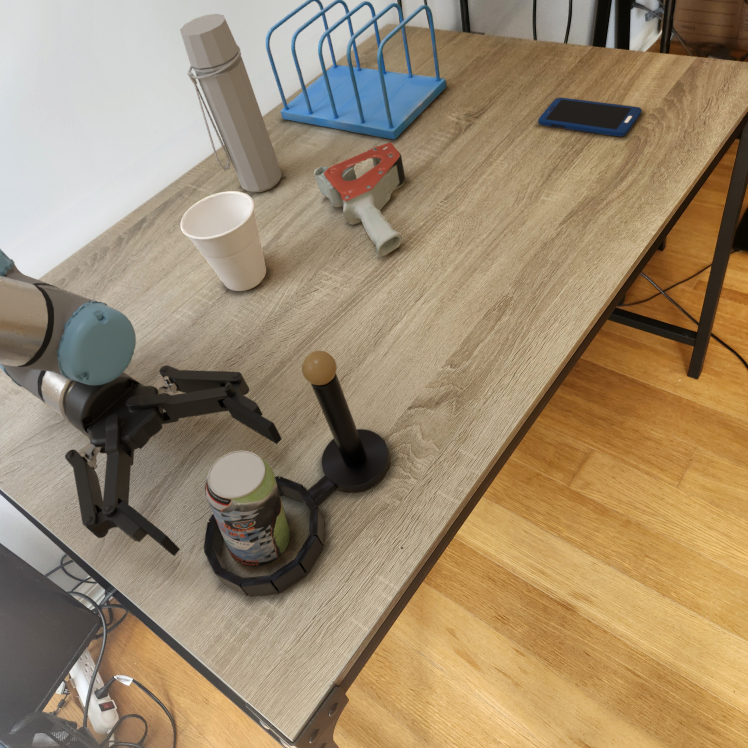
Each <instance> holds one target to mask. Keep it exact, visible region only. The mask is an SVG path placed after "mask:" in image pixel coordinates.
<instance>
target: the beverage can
mask: <svg viewBox="0 0 748 748" xmlns="http://www.w3.org/2000/svg"><path fill="white" fill-rule="evenodd" d="M275 477H276V476H275V473H274V470H273V469H272V466H271V465H270V464H269V463H268V462H267V461H266V459H263V458H262V457H260V456H259V455H258V454H256V453H254V452H252V451H249V450H234V451H230V452H227V453H225V454H224V455H221V456H220V457H218V458H217V459H216V460H215V461H214V462H213V463H212V465H211V466H210V468H209V469H208V472H207V477H206V480H205V483H204V493H205V498H206V500H207V503H208V506H209V507H210V509H211V512H212V514H214V517H215V519H216V522H217V524H218V526H219V529H220V531H221V533H222V536H223V542H224V543H225V545H226V548H227V550H228V553H229V555H230V556H231V557H232V559H233V560H234V561H235V562H236V563H238V564H239V565H242V566H244V567H249V568H259V567H264V566H268V565H270V564H272V563H274V562H275V561H277V560H278V559H279V558H280V557H282V555H283V554H284V553H285V551H286V550H287V548H288V546H289V544H290V539H291V533H290V532H291V531H290V527H289V524H288V520H287V516H286V513H285V512H286V511H285V509H284V505H283V502H282V498H281V495H280V494H279V491H278V487H277V483H276V480H275Z"/></svg>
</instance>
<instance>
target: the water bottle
mask: <svg viewBox="0 0 748 748" xmlns="http://www.w3.org/2000/svg"><path fill="white" fill-rule="evenodd" d="M225 17H226V16H225V15H224V14H221V13H211V14H205V15H202V16H198V17H195V18H193V19H191V20H190V21H188V22H186V23H184V24H183V26H182V27H181V28H180V29H179V31H180V35H181V38H182V41H183V45H184V48H185V51H186V55H187V57H188V61H189V64H190V67H189V69H188V70H187V73H186V74H187V76H188V78H189V79H190V81H191V83H192V84H193V86H194V89H195V92H196V96H197V100H198V103H199V106H200V110H201V114H202V117H203V120H204V123H205V127H206V130H207V133H208V137H209V140H210V141H209V142H210V144H211V148H212V151H213V154H214V156H215V159H216V161H217V163H218V165H219V166H220V167H221V169H222V170H223V171H227V170H230V169H231V164H232V167H233V169H234V171H235V174H236V176H237V179H238V181H239V184H240V187H241V189H242V190H244V191H247V192H249V193H252V194H253V193H262V192H265V191H268V190H271V189H272V188H274V187H275V186H276V185H278V184H279V183H280V181H281V178H282V176H283V172H282V170H281V167H280V164H279V161H278V158H277V156H276V152H275V150H274V147H273V143H272V141H271V137H270V136H269V132H268V129H267V127H266V124H265V120H264V118H263V114H262V112H261V109H260V106H259V103H258V101H257V96H256V95H255V92H254V88H253V86H252V83H251V80H250V77H249V74H248V71H247V69H246V66H245V62H244V60H243V56H242V53H241V48H240V46H239V45H238V44H237V42H236V40H235V38H234V35H233V33H232V31H231V29H230V26H229V24H228V22H227V20H226V18H225ZM192 70H193V71H194V72H195V75H194V73H193V72H192ZM198 83H199V86H200V89H201V90H202V92H203V95H204V97H203V96H202V94H201V91H200V89H199V86H198V85H197V84H198ZM204 98H205V100H204ZM205 101H206V102H205ZM206 103H207V105H208V107H209V109H208V107H207V105H206ZM204 108H205V111H206V113H207V115H208V118H209V120H210V122H211V125H212V128H213V129H214V132H215V133H216V136H217V138H218V141H219V143H220V145H221V147H222V150H223V152H224V154H225V156H226V159H227V162H226V166H223V165H222V163H221V160H220V159H219V157H218V154H217V150H216V147H215V143H214V140H213V137H212V134H211V131H210V128H209V127H210V126H209V124H208V121H207V118H206V114H205V111H204ZM209 110H210V111H209ZM210 112H211V114H210ZM211 115H212V116H211ZM214 121H215V123H214Z"/></svg>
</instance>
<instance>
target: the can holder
mask: <svg viewBox="0 0 748 748" xmlns="http://www.w3.org/2000/svg"><path fill="white" fill-rule="evenodd" d="M337 368H338V367H337V363H336V360H335V358H334V356H333V355H331V354H330V353H329V352H327V351H324V350H314V351H311V352H310V353H308V354H307V355H306V356H305V358H304V359H303V361H302V364H301V372H302V376H303V377H304V379H305V380H306V381H307V382H308V383H310V386H311V387H312V390H313V392H314V395H315V398H316V400H317V402H318V404H319V406H320V409H321V412H322V413H323V417H324V418H325V421H326V423H327V426H328V427H329V430H330V433H331V435H332V437H333V439H331V440H330V441H329V442H328V444H327V445H326V446H325V448H324V450H323V453H322V456H321V469H322V471H323V473H324V476H322V477H321V478H320V479H319V480H318V481H317V482H315V484H313V485H312V486H311V487H310V488H309V489H307V487H306V486H304V485H303V484H301V483H298V482H296V481H294V480H291V479H289V478H286V477H283V476H279V475H277V476H275V480H276V483H277V487H278V491H279V494H280V496H286V497H288V498H291V499H294V500H296V501H298V502H301V503H303V504H304V505H305V506H306V508H307V509H308V511H309V531H308V536H307V538H306V540H305V541H304V543H303V544H302V546H301V548H300V549H299V551H298V552H297V554H296V556H295V558H294V559H292V560H291V561H289V562H288V563H286V564H285V565H283V566H282V567H280V568H278V569H276V571H274V572H272V573H271V574H267V575H258V576H251V577H249V576H248V577H242V576H240V575H238V574H236V573H234V572H232V571H230V570H228V569H227V567H226V565H225V563H224V561H223V559H222V552H223V543H224V538H223V536H222V533H221V531H220V529H219V526H218V524H217V522H216V519H215V517H214V514H213V513H212V514H211V516H210V517H209V518H208V521H207V523H206V529H205V536H204V542H203V553H204V554H205V556H206V559H207V561H208V563H209V565H210V567H211V570H212V572H213V573H214V574H215V575H216V577H217V578H218V579H219V580H220V581H221V582H222V583H223V584H224V585H225V586H227V587H228V588H230V589H232V590H234V591H236V592H238V593H240V594H242V595H244V596H246V597H251V598H252V597H259V596H262V597H263V596H269V595H279V593H281V594H282V593H283V592H285V591H286V590H288V589H289V588H290V587H293V586H294V585H295V584H297V583H298V582H300V581H301V580H303V579H304V578H305V577H307V574H308V575H309V574H310V572H311V570H312V568H313V567H314V565H315V563H316V562H317V560H318V558H319V556H320V555H321V553H322V551H323V550H324V546H325V519H324V515H323V513H322V512H321V510H320V508H319V505H320V504H322V503H323V502H324V501H325V500H326V499H327V498H329V497H330V496H331V495H332V494H333V493H335V492H336V491H337V490H339V491H341V492H345V493H360V492H364V491H367V490H370V489H372V488H374V487H375V486H376V485H378V484H379V483H380V482H381V481H382V480H383V479H384V477H385V476H386V474H387V473H388V471H389V468H390V464H391V456H390V452H389V449H388V446H387V443H386V442H385V440H384V439H383V437H381V435H379V433H376V432H374V431H372V430H370V429H364V428H357V426H356V424H355V420H354V418H353V416H352V413H351V410H350V407H349V404H348V402H347V399H346V396H345V393H344V391H343V388H342V386H341V383H340V380H339V378H338V375H337Z"/></svg>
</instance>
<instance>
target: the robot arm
mask: <svg viewBox="0 0 748 748" xmlns="http://www.w3.org/2000/svg"><path fill="white" fill-rule="evenodd" d="M136 345H137V337H136V331H135V327H134V326H133V323H132V322H131V320H130V319H129V318H128V317H127V315H125V314H124V313H123V312H121V311H120V310H118V309H115V308H113V307H111V306H109V305H108V304H107V303H105V302H103V301H97V300H93V299H91V298H88V297H84V296H83V295H79V294H76V293H74V292H71V291H67V290H66V289H62V288H60V287H57V286H55V285H53V284H51V283H47V282H45V281H43V280H40V279H37V278H34V277H31V276H28V275H26V274H24V273H22V271H20V269H18V267H17V265H16V264H15V261H14V260H13V259H11V258H10V257H9V256H8V255H7V254H6V253H5V251H3V250H2V249H1V248H0V369H1V370H2V371H3V372H4V374H5V375H6V376H7V377H8V378H10V379H11V381H12V382H13V383H14V384H16V385H17V386H19V387H21V388H23V389H25V390H26V391H28V392H29V394H31V395H32V396H34V397H36V399H38V400H40V402H43V404H45V405H46V406H47V407H48V408H50V409H52V410H53V412H55V413H57V414H58V415H59V416H60V417H62V418H63V419H64V420H65V421H67V422H68V423H69V424H71V425H72V426H73V427H74V428H75V429H77V430H78V431H79V432H81V433H82V434H83V435H84V436H86V437H87V438H88V439H89V443H88V444H87V445H85V446H84V447H83V448H82V449H80V450H79V451H77V450H76V449H70V450H68V451H67V452H66V453H65V454H64V458H65V460H66V461H67V463H69V465H70V466H71V467H72V469H73V474H74V475H73V476H74V481H75V487H76V493H77V497H78V498H77V499H78V505H79V511H80V516H81V523H82V525H83V526H84V527H85V528H86V529H87V530H89V531H90V533H92V534H93V535H94V536H95V537H96V538H97V539H103V538H105V537H106V536H107V535H108V534H109V531H110V530H112V529H113V528H118V529H119V530H120V531H122V532H123V533H124V534H126V535H127V537H129V538H130V539H131V540H133V541H134V542H137V543H140V542H141V541H143V540H144V538H145V537H146V536H149V537H150V538H151V539H152V540H154V541H155V542H156V543H157V544H158V545H160V546H161V547H162V548H163V549H164V550H166V551H167V552H168V553H169V554H171V556H173V557H175V555H177V554H178V552H179V551H180V550H181V549H180V548H179V547H178V545H177V544H176V543H175V542H174V541H173V540H172V539H171V538H170V537H169V536H168V535H167V534H166V533H164V531H162V530H161V529H159V528H158V527H157V526H156V525H155V524H154V523H152V522H151V521H150V520H149V519H147V518H146V517H144V516H143V514H141V513H140V512H139V511H137V510H136V509H135V508H134V507H132V506H131V505H130V503H129V502H130V484H131V467H132V466H133V465H134V461H135V459H134V458H135V451H136V450H138V449H139V450H141V449H143V448H144V447H145V446H146V445H147V444H148V442H149V441H150V439H152V437H153V436H155V435H157V434H158V433H159V432H160V431H161V430H162V429H164V427H163V425H166V424H172V423H177V422H179V421H180V419H186V418H191V417H199V416H204V415H209V414H217V413H222V412H223V413H224V412H228V413H229V415H230V416H231V418H233V419H234V420H236V421H237V422H239V423H240V424H243V425H244V426H246V427H247V428H248V429H250V430H252V431H253V432H255V433H257V434H259V435H260V436H262V437H264V438H266V440H269V441H271V442H272V443H274V444H275V445H278V444H279V443H280V442H281V440H282V439H283V438H282V436H281V434H280V433H279V431H278V428H277V427H276V425H275V423H274V422H273V421H271V420H270V419H268V418H266V417H265V416H263V412H262V410H261V408H260V406H259V404H258V403H257V402H256V401H255V400H253V399H251V398H249V397H248V396H247V394H249V392H250V391H251V390H250V387H249V385H248V384H247V381H246V380H245V377H244V376H243V374H242V372H240V371H228V370H227V371H223V370H195V369H194V370H192V369H191V370H190V369H177V368H175V367H173V366H171V365H167V364H166V365H165V364H164V365H162V366H161V367H160V368H159V370H158V372H159V374H160V377H159V378H158V379H157V380H156V381H155V383H154V384H153V385H151V384H150V385H147V384H146V385H145V384H143V383H140V381H138V380H136V379H135V378H133V377H131V376H130V375H129V374H126V372H125V371H126V369H127V368H128V367H129V365H131V362H132V360H133V356H134V354H135V349H136ZM178 392H180V393H178ZM170 393H172V394H170ZM99 453H100V454H106V465H105V475H104V485H103V495H102V490H101V489H102V488H101V485H100V480H99V476H98V475H99V474H98V473H97V471H96V469H98V464H97V463H98V459H97V456H98V454H99Z"/></svg>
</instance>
